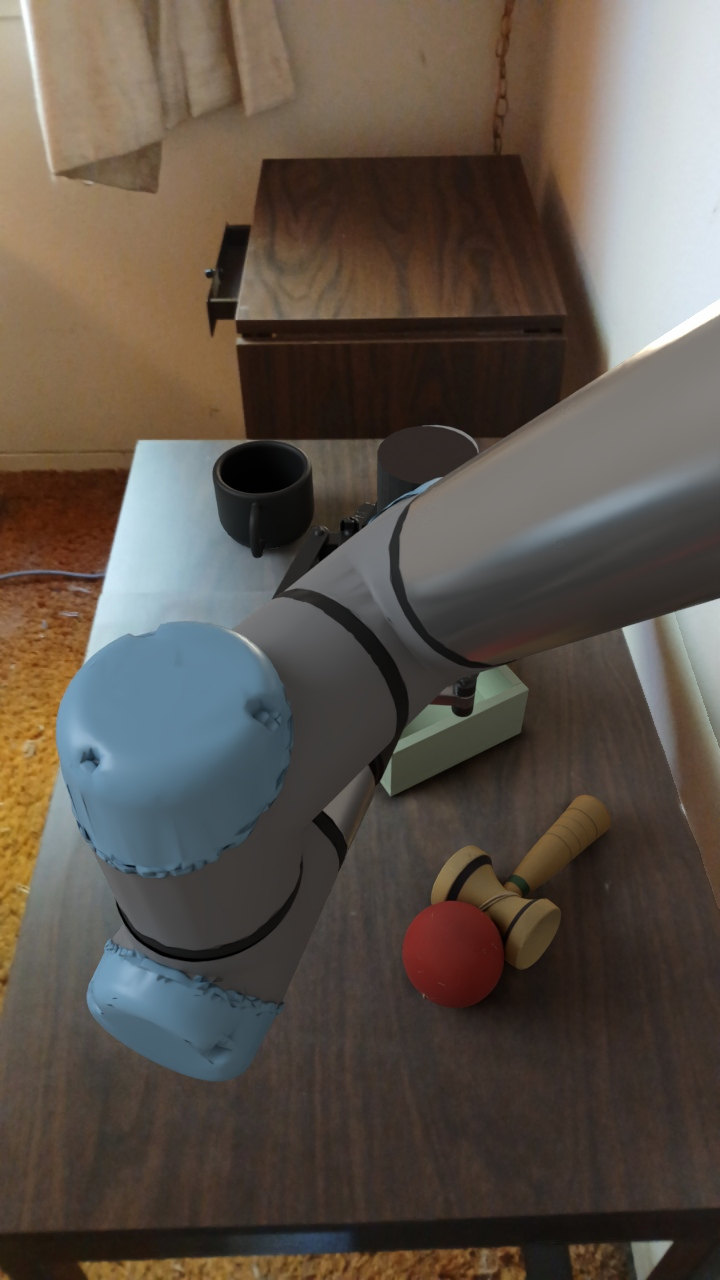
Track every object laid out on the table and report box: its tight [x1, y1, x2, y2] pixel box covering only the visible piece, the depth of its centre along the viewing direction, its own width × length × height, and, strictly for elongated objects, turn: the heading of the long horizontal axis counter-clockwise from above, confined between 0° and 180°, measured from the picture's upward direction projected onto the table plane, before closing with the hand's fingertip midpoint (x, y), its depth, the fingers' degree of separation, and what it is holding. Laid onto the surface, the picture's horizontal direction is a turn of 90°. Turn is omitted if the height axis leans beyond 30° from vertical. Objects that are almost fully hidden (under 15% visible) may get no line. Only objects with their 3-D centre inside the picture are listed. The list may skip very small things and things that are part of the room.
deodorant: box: [376, 425, 479, 514], centre depth 57 cm, size 6×6×15 cm
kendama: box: [401, 794, 612, 1009], centre depth 56 cm, size 8×6×18 cm
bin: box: [379, 664, 530, 797], centre depth 68 cm, size 12×12×5 cm
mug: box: [211, 439, 315, 559], centre depth 82 cm, size 12×9×7 cm
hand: (447, 496), depth 60 cm, fingers closed on deodorant, 6 cm apart
